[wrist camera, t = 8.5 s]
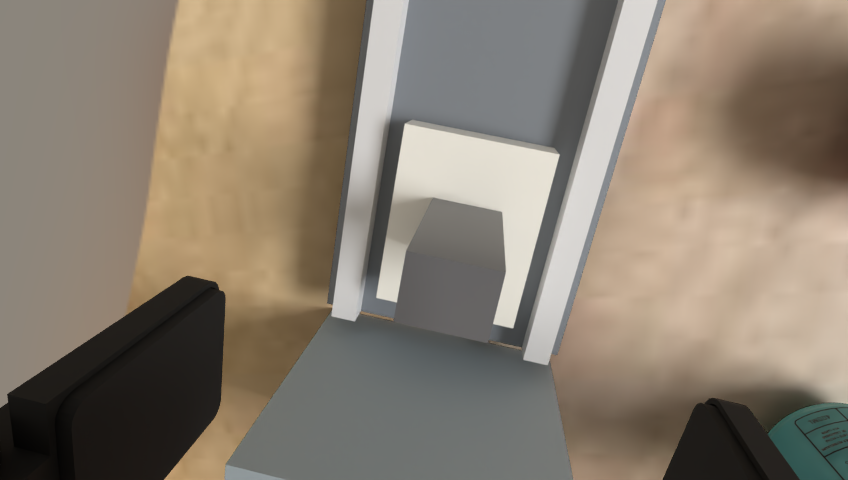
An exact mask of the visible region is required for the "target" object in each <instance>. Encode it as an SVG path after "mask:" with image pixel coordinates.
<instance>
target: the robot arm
mask: <svg viewBox="0 0 848 480" xmlns="http://www.w3.org/2000/svg"><path fill="white" fill-rule="evenodd" d="M224 320H225V293H224V292H223V291H220V290H219V287H218V284H217V283H216V282H213V281H208V280H204V279H200V278H196V277H191V276H186V277H183V278H182V279H180V280H179V281H177V282H176V283H174V284H173V285H171V286H170V287H168V288H167V289H165V290H164V291H162V292H161V293H159V294H158V295H156V296H155V297H153V298H152V299H150V300H149V301H147V302H146V303H144V304H143V305H141V306H140V307H138V308H137V309H135V310H134V311H132V312H131V313H129V314H128V315H126V316H125V317H123V318H122V319H120V320H119V321H117V322H115V323H114V324H112V325H111V326H109V327H108V328H106V329H105V330H103V331H102V332H100V333H99V334H97V335H96V336H94V337H93V338H91V339H90V340H88V341H87V342H85V343H84V344H82V345H81V346H79V347H78V348H76V349H75V350H73V351H72V352H70V353H69V354H67V355H66V356H64V357H63V358H61V359H60V360H58V361H57V362H55V363H54V364H52V365H51V366H49V367H48V368H46V369H45V370H43V371H42V372H40V373H39V374H37V375H36V376H34V377H33V378H31V379H30V380H28V381H26V382H25V383H23V384H22V385H21V386H19V387H17V388H16V389H14V390H13V391H12V392H10V393H9V394H7V395H8V403H7V404H5V405H4V406H3V407H1V408H0V480H164V479H165V478H166V476H167V475H168V474H169V473H170V472H171V470H172V469H173V468H174V467H175V465H176V464H177V463H178V462H179V461H180V459H181V458H182V457H183V456H184V454H185V453H186V452H187V451H188V450H189V448H190V447H191V446H192V445H193V443H194V442H195V441H196V440H197V439H198V437H199V436H200V435H201V434H202V432H203V431H204V430H205V429H206V428H207V426H208V425H209V424H210V423H211V421H212V420H213V419H214V417H215V416H216V414H217V412H218V409H219V406H220V401H221V384H222V363H223V341H224ZM663 480H800V479H799V478H798V476H797V475H796V473H795V472H794V471H793V469H792V468H791V466H790V465H789V464H788V462H787V461H786V459H785V458H784V457H783V455H782V454H781V453H780V451H779V450H778V448H777V447H776V446H775V444H774V443H773V441H772V440H771V439H770V437H769V436H768V434H767V433H766V432H765V430H764V429H763V427H762V426H761V425H760V423H759V422H758V421H757V419H756V418H755V416H754V415H753V414H752V412H751V411H750V409H749V408H748V407H746V406H745V405H741V404H737V403H733V402H728V401H724V400H720V399H716V398H710V399H708V400H707V401H706V402H705V404H703V403H699V404H697V405H696V406H695V408H694V410H693V412H692V414H691V416H690V419H689V421H688V423H687V425H686V428H685V430H684V432H683V435H682V437H681V439H680V441H679V444H678V446H677V448H676V451H675V453H674V455H673V457H672V460H671V462H670V464H669V466H668V469H667V471H666V473H665V476H664V478H663Z"/></svg>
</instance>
